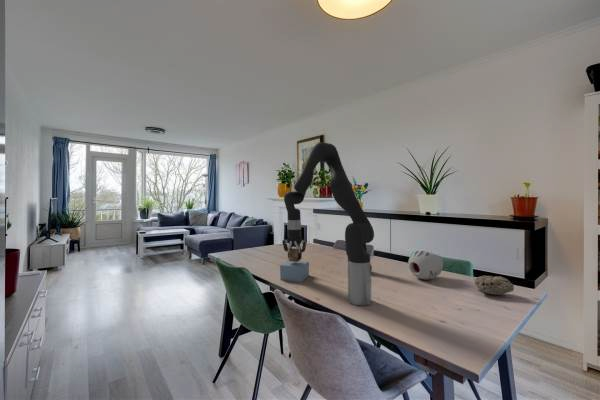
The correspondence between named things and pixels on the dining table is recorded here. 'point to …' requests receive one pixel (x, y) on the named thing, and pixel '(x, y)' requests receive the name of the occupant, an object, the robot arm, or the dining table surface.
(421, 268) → the decorative object
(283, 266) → the slate-blue plinth
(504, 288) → the pumice stone
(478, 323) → the dining table surface
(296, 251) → the walnut block
